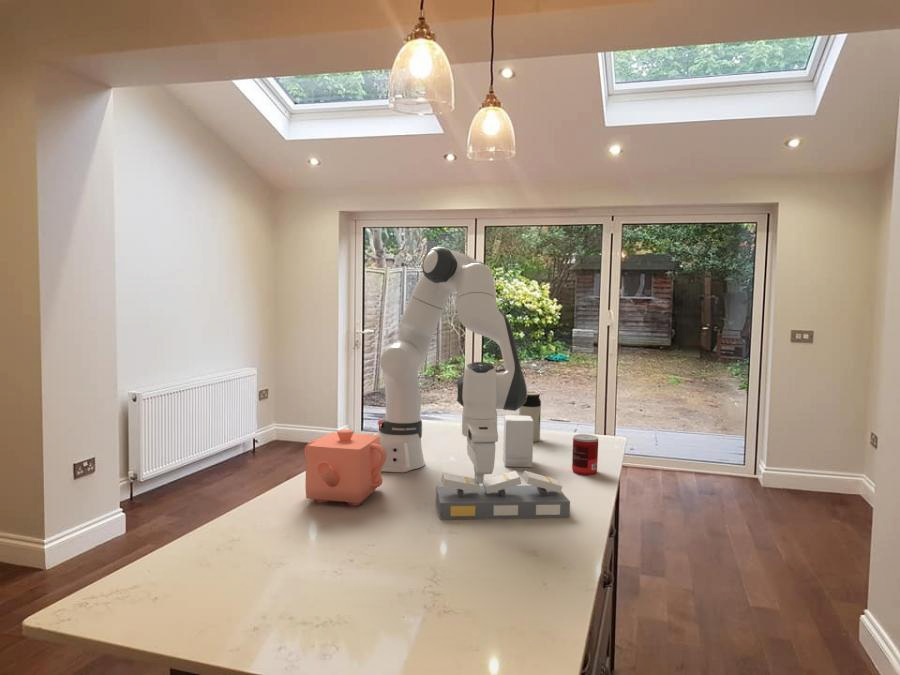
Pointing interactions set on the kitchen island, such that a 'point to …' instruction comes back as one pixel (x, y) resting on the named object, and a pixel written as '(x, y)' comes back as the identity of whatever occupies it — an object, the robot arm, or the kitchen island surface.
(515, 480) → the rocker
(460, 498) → the console
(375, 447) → the teapot
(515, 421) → the supplement box
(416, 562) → the kitchen island surface
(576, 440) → the canned food
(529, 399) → the travel mug
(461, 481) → the rocker
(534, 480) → the block
